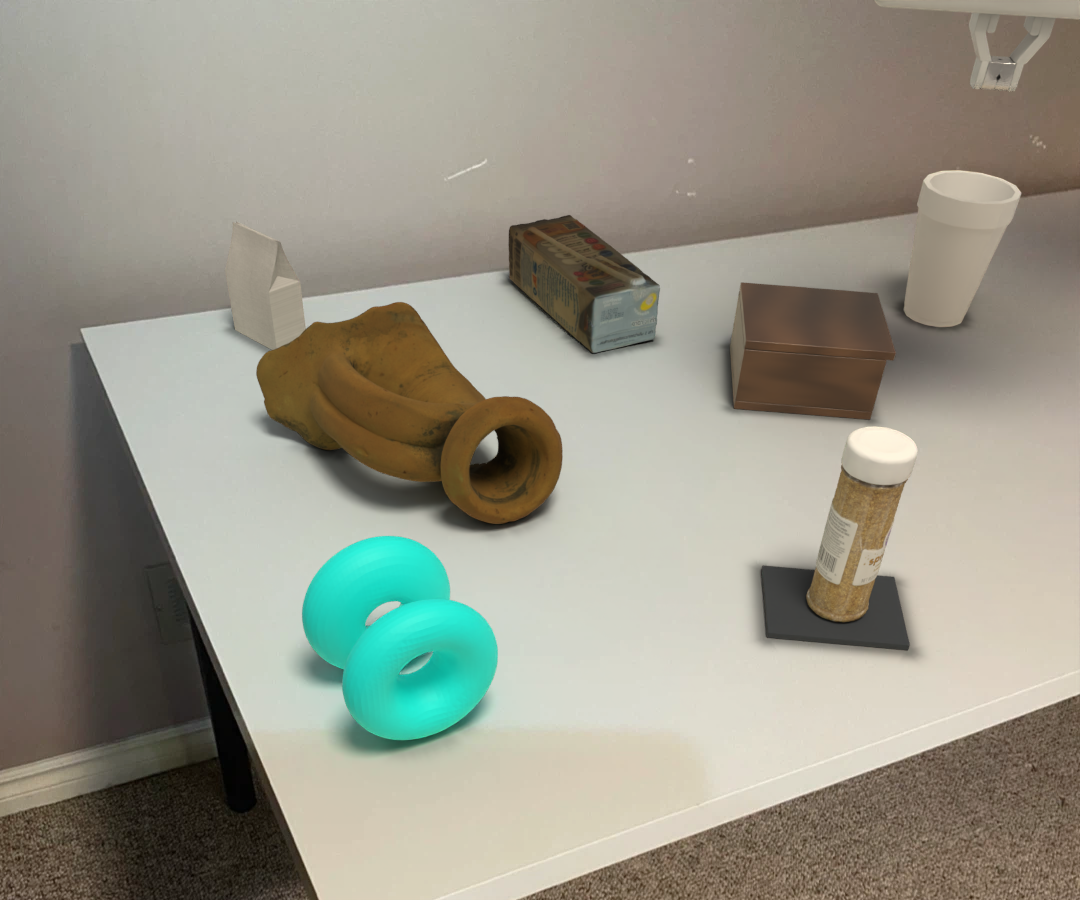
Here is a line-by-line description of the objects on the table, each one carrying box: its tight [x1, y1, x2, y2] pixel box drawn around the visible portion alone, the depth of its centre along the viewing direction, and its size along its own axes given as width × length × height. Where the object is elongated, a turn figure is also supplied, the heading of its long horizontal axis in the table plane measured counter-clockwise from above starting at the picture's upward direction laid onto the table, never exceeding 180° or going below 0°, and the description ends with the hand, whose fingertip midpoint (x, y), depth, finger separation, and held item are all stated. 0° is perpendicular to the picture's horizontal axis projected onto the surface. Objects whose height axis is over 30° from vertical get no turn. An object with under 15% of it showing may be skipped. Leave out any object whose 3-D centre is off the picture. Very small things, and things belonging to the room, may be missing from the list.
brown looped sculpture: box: [255, 301, 564, 525], centre depth 86 cm, size 18×13×22 cm
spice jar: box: [806, 425, 919, 622], centre depth 74 cm, size 5×5×14 cm
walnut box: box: [729, 290, 888, 421], centre depth 102 cm, size 13×13×6 cm
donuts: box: [301, 535, 499, 741], centre depth 67 cm, size 10×10×10 cm
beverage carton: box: [508, 214, 661, 354], centre depth 111 cm, size 8×19×7 cm, turn 27°
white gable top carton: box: [224, 221, 307, 351], centre depth 103 cm, size 4×7×10 cm, turn 48°
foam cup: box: [903, 169, 1022, 328], centre depth 111 cm, size 10×9×13 cm
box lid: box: [739, 282, 897, 362], centre depth 99 cm, size 13×13×1 cm
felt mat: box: [760, 564, 911, 651], centre depth 79 cm, size 10×8×1 cm
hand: (991, 88), depth 76 cm, fingers closed
